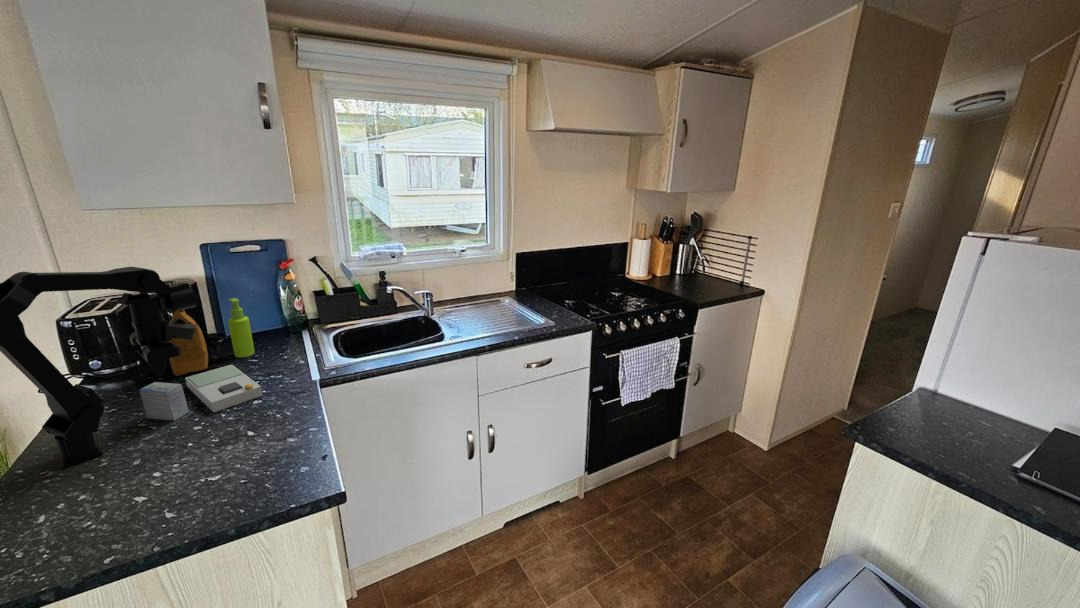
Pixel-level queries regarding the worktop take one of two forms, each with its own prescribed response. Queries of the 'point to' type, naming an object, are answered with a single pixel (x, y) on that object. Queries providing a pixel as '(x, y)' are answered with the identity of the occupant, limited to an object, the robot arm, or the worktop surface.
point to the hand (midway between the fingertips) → (161, 375)
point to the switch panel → (210, 382)
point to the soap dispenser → (240, 331)
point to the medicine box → (164, 401)
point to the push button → (229, 388)
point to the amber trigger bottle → (189, 349)
